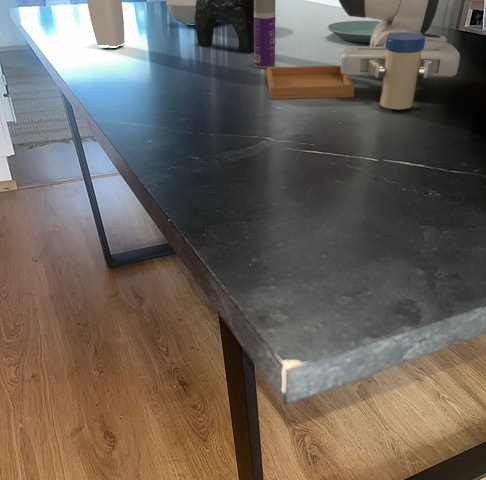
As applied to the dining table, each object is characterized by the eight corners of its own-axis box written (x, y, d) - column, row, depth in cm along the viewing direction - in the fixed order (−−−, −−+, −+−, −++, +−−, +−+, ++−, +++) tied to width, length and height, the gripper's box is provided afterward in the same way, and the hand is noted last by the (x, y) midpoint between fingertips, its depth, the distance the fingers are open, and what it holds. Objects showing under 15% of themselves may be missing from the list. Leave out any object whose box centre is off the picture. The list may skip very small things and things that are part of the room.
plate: (369, 27, 155) (370, 16, 154) (427, 39, 140) (429, 27, 138) (309, 36, 146) (310, 25, 144) (365, 50, 130) (366, 38, 129)
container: (273, 68, 117) (274, -8, 109) (252, 68, 118) (252, -8, 109) (275, 63, 121) (276, -11, 112) (255, 63, 122) (255, -11, 113)
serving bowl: (163, 21, 173) (160, -3, 169) (224, 16, 177) (223, -7, 173) (175, 32, 156) (173, 6, 152) (242, 26, 161) (242, 1, 157)
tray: (340, 75, 111) (341, 65, 110) (353, 97, 98) (354, 85, 97) (267, 77, 111) (267, 67, 110) (270, 99, 99) (270, 87, 97)
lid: (417, 43, 89) (419, 32, 88) (428, 51, 84) (430, 39, 83) (381, 44, 89) (383, 33, 88) (390, 52, 84) (391, 40, 83)
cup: (92, 49, 139) (81, -15, 130) (106, 44, 144) (96, -19, 135) (117, 50, 137) (107, -15, 128) (130, 45, 142) (121, -19, 134)
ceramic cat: (265, 50, 133) (265, -43, 121) (249, 55, 129) (247, -41, 117) (207, 42, 143) (202, -45, 132) (190, 46, 139) (184, -43, 128)
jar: (408, 99, 94) (418, 35, 88) (416, 109, 90) (427, 42, 84) (376, 100, 95) (384, 36, 88) (383, 109, 90) (392, 43, 84)
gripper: (341, 35, 99) (340, 52, 88) (454, 36, 96) (468, 53, 85) (338, 70, 103) (337, 90, 92) (447, 72, 100) (460, 93, 89)
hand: (401, 72), depth 88 cm, fingers closed on jar, 5 cm apart
